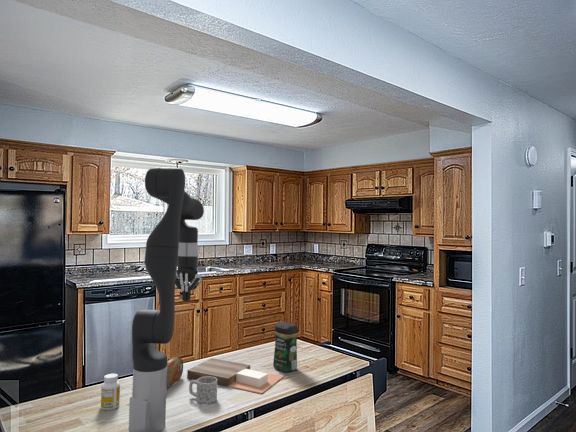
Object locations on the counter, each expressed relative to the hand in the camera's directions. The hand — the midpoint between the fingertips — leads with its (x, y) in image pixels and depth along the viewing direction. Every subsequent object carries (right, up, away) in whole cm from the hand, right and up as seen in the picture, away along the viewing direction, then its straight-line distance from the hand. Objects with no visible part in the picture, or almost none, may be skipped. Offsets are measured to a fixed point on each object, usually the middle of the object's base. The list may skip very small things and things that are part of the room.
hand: (186, 301), depth 159 cm
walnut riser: (+11, -29, +5) cm, 32 cm away
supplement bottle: (-18, -28, -24) cm, 42 cm away
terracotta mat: (+26, -30, 0) cm, 40 cm away
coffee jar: (+37, -30, +15) cm, 50 cm away
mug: (+9, -29, -17) cm, 35 cm away
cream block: (+24, -29, -1) cm, 38 cm away
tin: (-5, -29, -4) cm, 30 cm away
